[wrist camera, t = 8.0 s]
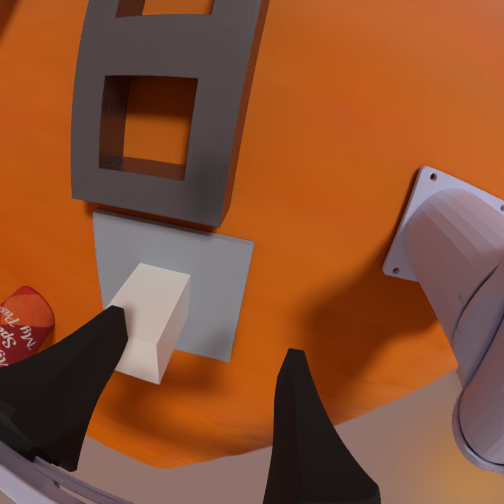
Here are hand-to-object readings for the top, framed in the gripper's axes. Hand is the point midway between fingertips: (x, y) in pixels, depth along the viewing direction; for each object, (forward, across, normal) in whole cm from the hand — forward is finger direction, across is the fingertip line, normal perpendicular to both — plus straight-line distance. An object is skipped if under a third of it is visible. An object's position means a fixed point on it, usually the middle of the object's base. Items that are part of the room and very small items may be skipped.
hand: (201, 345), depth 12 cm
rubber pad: (+9, +5, +6) cm, 12 cm away
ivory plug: (+9, +5, +5) cm, 11 cm away
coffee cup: (+9, +22, +14) cm, 27 cm away
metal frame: (+9, +6, -12) cm, 17 cm away
